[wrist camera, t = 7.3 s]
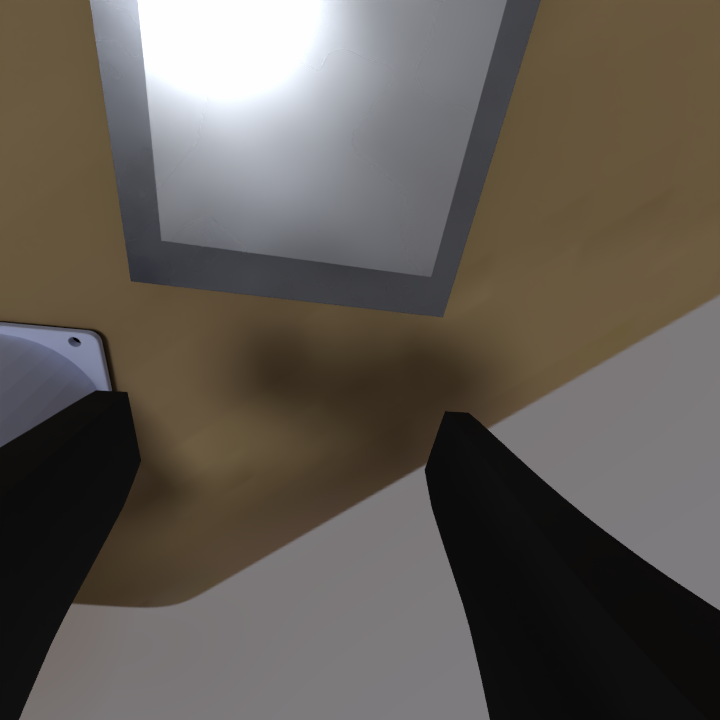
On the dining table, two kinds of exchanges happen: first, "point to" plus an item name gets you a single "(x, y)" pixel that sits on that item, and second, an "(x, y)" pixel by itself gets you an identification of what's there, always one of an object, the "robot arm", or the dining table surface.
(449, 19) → the stand column
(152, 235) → the stand base
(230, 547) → the dining table surface
